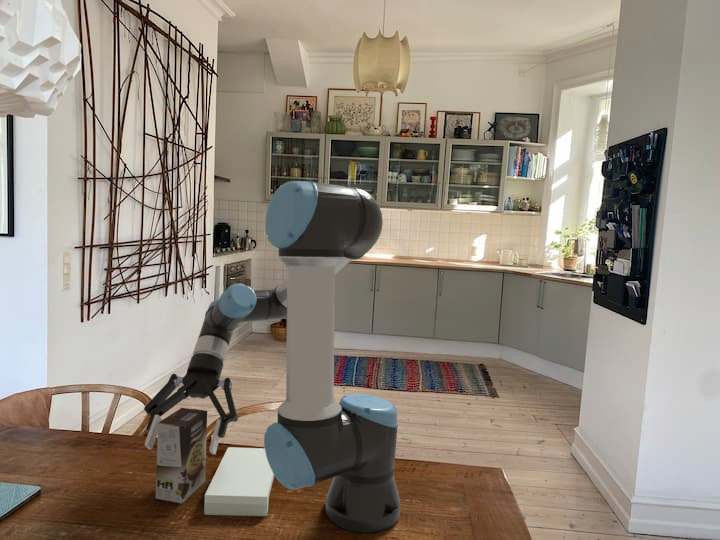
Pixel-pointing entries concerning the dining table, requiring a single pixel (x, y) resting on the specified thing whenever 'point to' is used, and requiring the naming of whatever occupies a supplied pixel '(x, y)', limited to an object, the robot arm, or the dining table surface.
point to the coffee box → (181, 454)
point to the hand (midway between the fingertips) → (180, 449)
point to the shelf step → (240, 484)
